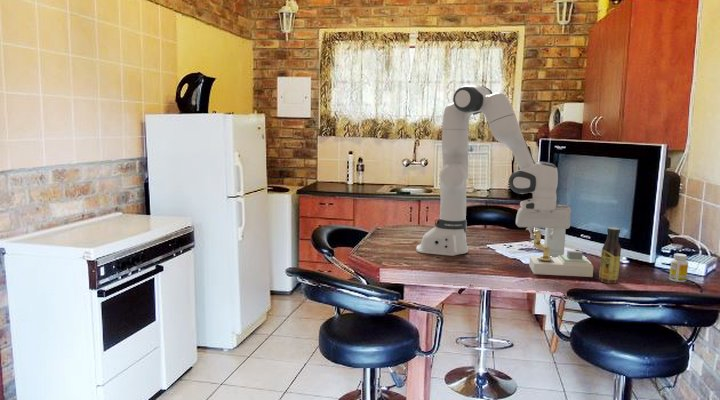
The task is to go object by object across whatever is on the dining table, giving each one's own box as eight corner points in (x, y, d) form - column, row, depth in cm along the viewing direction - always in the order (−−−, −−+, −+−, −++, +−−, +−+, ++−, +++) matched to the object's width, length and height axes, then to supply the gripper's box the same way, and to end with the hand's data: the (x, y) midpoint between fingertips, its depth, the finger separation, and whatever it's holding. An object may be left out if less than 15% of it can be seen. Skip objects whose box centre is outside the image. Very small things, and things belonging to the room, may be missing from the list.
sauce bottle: (595, 279, 199) (599, 226, 196) (611, 279, 200) (616, 225, 196) (604, 284, 193) (609, 229, 190) (621, 284, 193) (626, 229, 190)
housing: (533, 273, 205) (534, 261, 204) (529, 266, 216) (530, 253, 215) (592, 276, 202) (593, 263, 201) (584, 268, 213) (585, 256, 212)
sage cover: (565, 264, 204) (566, 253, 204) (561, 258, 212) (561, 248, 211) (588, 265, 203) (588, 254, 202) (582, 259, 211) (583, 249, 210)
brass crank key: (530, 255, 216) (531, 230, 214) (539, 254, 217) (540, 230, 215) (543, 261, 207) (545, 235, 205) (553, 261, 208) (555, 235, 206)
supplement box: (564, 258, 229) (566, 228, 227) (545, 257, 230) (547, 227, 228) (561, 254, 236) (563, 225, 234) (543, 252, 237) (545, 224, 235)
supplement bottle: (668, 280, 199) (670, 254, 197) (670, 277, 203) (673, 252, 201) (685, 283, 195) (687, 257, 194) (687, 280, 200) (689, 254, 198)
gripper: (569, 203, 214) (566, 238, 216) (516, 201, 216) (514, 236, 218) (574, 206, 207) (571, 241, 210) (519, 204, 210) (516, 239, 212)
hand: (541, 238), depth 214 cm, fingers open, 5 cm apart
